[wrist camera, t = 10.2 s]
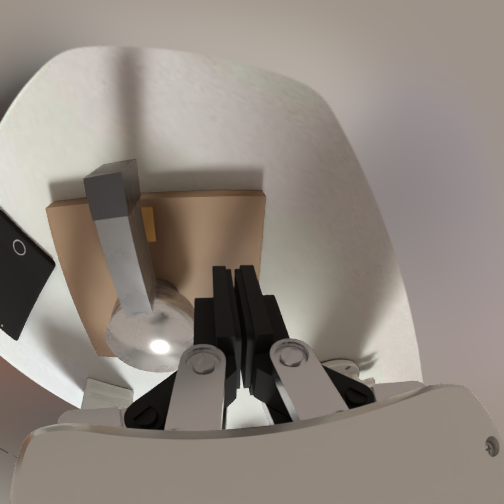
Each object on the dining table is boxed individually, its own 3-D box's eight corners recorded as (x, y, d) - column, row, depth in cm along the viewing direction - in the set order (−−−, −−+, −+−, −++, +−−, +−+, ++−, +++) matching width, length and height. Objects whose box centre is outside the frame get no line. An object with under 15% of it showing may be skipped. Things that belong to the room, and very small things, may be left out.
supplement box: (86, 376, 30) (72, 453, 19) (134, 389, 33) (130, 468, 22) (88, 397, 33) (78, 464, 22) (130, 409, 36) (127, 476, 25)
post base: (261, 190, 21) (273, 208, 18) (249, 344, 30) (255, 371, 27) (53, 201, 18) (30, 221, 15) (100, 346, 27) (94, 372, 24)
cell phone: (58, 261, 21) (54, 266, 21) (19, 337, 25) (16, 342, 25) (1, 206, 17) (-4, 209, 16) (-24, 299, 21) (-27, 303, 20)
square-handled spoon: (201, 342, 23) (203, 371, 20) (128, 346, 22) (123, 373, 19) (174, 153, 15) (167, 165, 12) (71, 171, 14) (48, 186, 11)
